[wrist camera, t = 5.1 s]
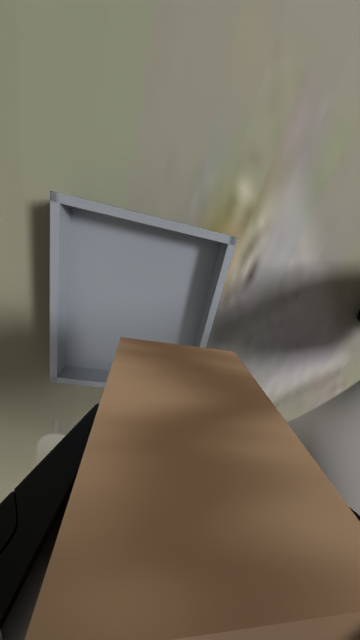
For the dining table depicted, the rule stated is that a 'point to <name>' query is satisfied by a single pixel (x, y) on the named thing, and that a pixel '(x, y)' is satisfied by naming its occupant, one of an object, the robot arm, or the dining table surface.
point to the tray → (126, 284)
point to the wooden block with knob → (198, 515)
